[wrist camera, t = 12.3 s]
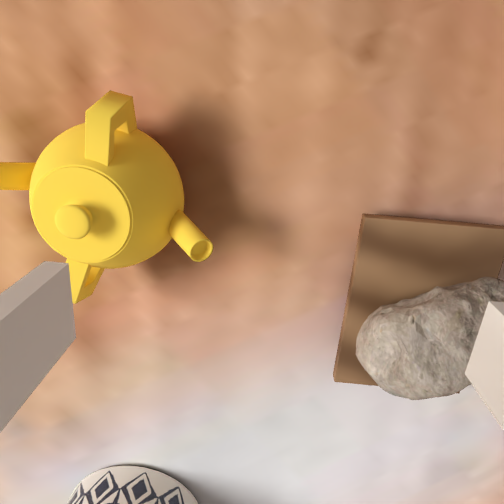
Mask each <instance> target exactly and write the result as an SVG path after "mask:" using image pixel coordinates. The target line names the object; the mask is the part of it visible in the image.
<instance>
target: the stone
mask: <svg viewBox="0 0 504 504" xmlns="http://www.w3.org/2000/svg"><path fill="white" fill-rule="evenodd" d="M489 301H494V302H504V281H503V280H500V279H496V278H493V277H482V278H479V279H477V280H475V281H472V282H464V283H459V284H455V285H452V286H447V287H440V286H437V287H435V288H434V289H432V290H431V291H429V292H426V293H423V294H420V295H418V296H416V297H414V298H412V299H403V300H401V301H399V302H398V303H395V304H389V305H382V306H380V307H379V308H378V309H377V310H376V311H374V312H373V313H372V314H371V315H369V316H368V318H367V319H366V321H365V322H364V323H363V325H362V326H361V329H360V331H359V333H358V336H357V339H356V356H357V358H358V360H359V362H360V363H361V365H362V366H363V368H364V369H365V370H366V371H367V372H368V374H369V375H370V376H371V377H372V378H373V380H374V381H375V382H376V383H377V384H378V385H379V387H381V388H382V389H383V390H385V391H386V392H388V393H390V394H392V395H395V396H399V397H403V398H409V399H411V400H421V399H427V398H433V397H442V396H449V395H452V394H455V393H457V392H459V391H461V390H462V389H464V388H465V387H467V386H468V385H471V382H470V381H469V379H468V378H467V376H466V375H465V371H466V368H467V365H468V362H469V359H470V356H471V353H472V350H473V347H474V344H475V341H476V338H477V335H478V332H479V329H480V326H481V323H482V320H483V317H484V314H485V311H486V308H487V305H488V302H489Z"/></svg>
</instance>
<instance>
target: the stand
mask: <svg viewBox="0 0 504 504" xmlns="http://www.w3.org/2000/svg"><path fill="white" fill-rule="evenodd" d="M503 260H504V226H500V225H489V224H477V223H466V222H454V221H443V220H431V219H420V218H408V217H396V216H385V215H373V214H362V220H361V225H360V230H359V236H358V241H357V247H356V252H355V258H354V263H353V268H352V274H351V279H350V285H349V290H348V296H347V301H346V306H345V312H344V317H343V323H342V328H341V333H340V339H339V344H338V350H337V355H336V361H335V366H334V371H333V377H334V381H335V382H343V383H354V384H364V385H375V386H379V385H378V384H377V383H376V382H375V381H374V380H373V378H372V377H371V376H370V375H369V374H368V372H367V371H366V370H365V369H364V368H363V366H362V365H361V363H360V362H359V360H358V358H357V356H356V339H357V336H358V333H359V331H360V329H361V326H362V325H363V323H364V322H365V321H366V319H367V318H368V316H369V315H371V314H372V313H373V312H374V311H376V310H377V309H378V308H379V307H380V306H382V305H389V304H395V303H398V302H399V301H401V300H403V299H412V298H414V297H416V296H418V295H420V294H423V293H426V292H429V291H431V290H432V289H434V288H435V287H437V286H440V287H447V286H452V285H455V284H459V283H464V282H472V281H475V280H477V279H479V278H482V277H493V278H496V279H497V278H498V275H499V272H500V269H501V266H502V263H503ZM459 392H460V391H459ZM459 392H457V393H459Z"/></svg>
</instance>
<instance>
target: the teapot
mask: <svg viewBox="0 0 504 504" xmlns="http://www.w3.org/2000/svg"><path fill="white" fill-rule="evenodd" d="M0 190H29V199H30V209H31V214H32V218H33V221H34V224H35V226H36V228H37V230H38V231H39V233H40V235H41V236H42V237H43V239H44V240H45V241H46V242H47V243H48V244H49V245H50V246H51V247H52V248H53V249H54V250H55V251H56V252H58V253H59V254H61V255H62V256H64V257H66V258H67V261H66V263H69V273H70V283H71V293H72V303H75V304H76V303H78V302H79V301H81V300H83V299H85V298H87V297H88V296H90V295H92V293H93V291H94V289H95V287H96V285H97V283H98V281H99V279H100V277H101V275H102V273H103V271H104V269H105V268H108V269H114V268H122V267H128V266H132V265H135V264H138V263H140V262H143V261H145V260H147V259H149V258H150V257H152V256H154V255H155V254H157V253H158V252H159V251H161V250H162V249H163V248H164V247H165V246H166V245H167V244H168V243H169V241H170V240H171V239H172V238H173V239H174V240H175V241H176V242H177V244H178V245H179V246H180V247H181V248H182V249H183V250H184V251H185V252H186V253H187V254H188V256H189V257H190V258H191V259H192V260H193V261H196V262H200V261H204V260H205V259H207V258H208V257H209V256H210V255H211V253H212V251H213V244H212V242H211V241H210V240H209V239H208V238H207V237H206V236H205V235H204V234H203V233H202V232H201V231H200V230H199V228H198V227H197V226H196V225H195V224H194V223H193V222H192V221H191V220H190V219H189V218H188V217H187V216H186V215H185V214H184V213H183V210H184V190H183V185H182V181H181V178H180V175H179V172H178V170H177V168H176V166H175V164H174V162H173V161H172V159H171V157H170V156H169V155H168V153H167V152H166V151H165V150H164V148H163V147H162V146H161V145H160V144H158V143H157V142H156V141H155V140H154V139H153V138H151V137H150V136H149V135H147V134H146V133H144V132H142V131H140V130H139V129H137V124H136V118H135V111H134V104H133V98H132V96H128V95H124V94H121V93H117V92H113V91H109V92H108V93H106V94H105V95H104V96H103V97H102V98H101V99H99V100H98V101H97V102H96V103H95V104H94V105H93V106H91V107H90V108H89V109H88V110H87V111H86V116H85V123H83V124H80V125H76V126H74V127H72V128H70V129H68V130H66V131H65V132H63V133H62V134H60V135H59V136H57V137H56V138H55V139H54V140H53V141H52V142H51V143H50V144H49V145H48V146H47V147H46V148H45V149H44V151H43V152H42V153H41V155H40V157H39V159H38V160H37V162H36V163H16V162H0Z"/></svg>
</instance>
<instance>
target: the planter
mask: <svg viewBox="0 0 504 504" xmlns="http://www.w3.org/2000/svg"><path fill="white" fill-rule="evenodd" d="M67 504H198V502H197V501H196V499H195V497H194V496H193V495H192V494H191V492H190V491H189V490H188V489H187V488H186V487H185V486H183V485H182V484H181V483H179V482H178V481H177V480H175V479H174V478H172V477H170V476H168V475H166V474H164V473H161V472H159V471H156V470H153V469H149V468H145V467H138V466H113V467H109V468H104V469H101V470H98V471H96V472H93V473H92V474H90V475H88V476H87V477H85V478H84V479H83V480H82V481H81V482H79V484H78V485H77V486H76V487H75V489H74V491H73V493H72V495H71V497H70V499H69V500H68V502H67Z"/></svg>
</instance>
